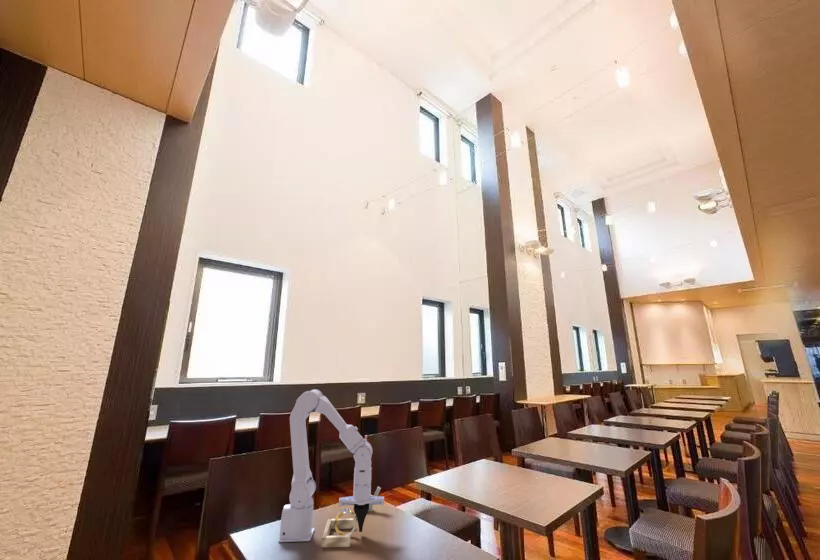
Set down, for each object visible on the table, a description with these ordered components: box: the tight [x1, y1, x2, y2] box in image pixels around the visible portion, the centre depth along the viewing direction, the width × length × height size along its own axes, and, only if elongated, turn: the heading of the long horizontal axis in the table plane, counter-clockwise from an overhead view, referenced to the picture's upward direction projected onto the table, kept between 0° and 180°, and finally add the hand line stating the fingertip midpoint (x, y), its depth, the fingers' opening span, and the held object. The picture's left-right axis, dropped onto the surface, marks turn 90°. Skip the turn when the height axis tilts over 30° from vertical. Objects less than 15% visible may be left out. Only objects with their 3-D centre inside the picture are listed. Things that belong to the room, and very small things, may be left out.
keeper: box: [320, 517, 354, 548], centre depth 108 cm, size 8×13×2 cm, turn 5°
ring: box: [334, 506, 358, 536], centre depth 109 cm, size 7×3×8 cm, turn 91°
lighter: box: [368, 486, 382, 512], centre depth 129 cm, size 7×2×8 cm, turn 89°
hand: (360, 530), depth 109 cm, fingers closed
